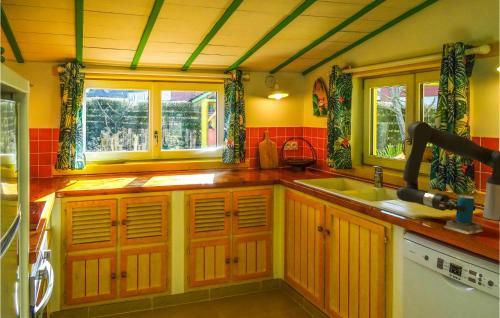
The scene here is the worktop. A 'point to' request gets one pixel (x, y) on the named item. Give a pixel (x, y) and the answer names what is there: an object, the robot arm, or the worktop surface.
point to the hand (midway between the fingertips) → (470, 209)
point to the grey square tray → (463, 227)
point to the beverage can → (466, 217)
